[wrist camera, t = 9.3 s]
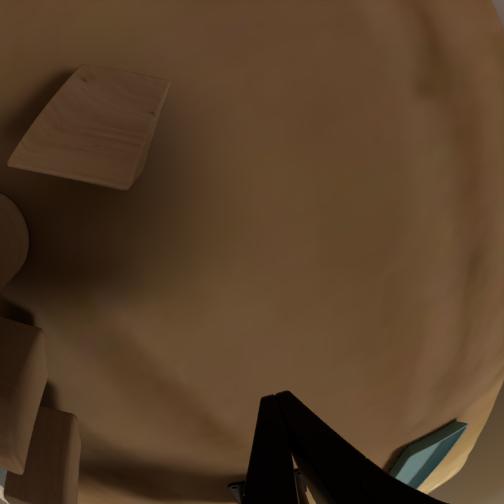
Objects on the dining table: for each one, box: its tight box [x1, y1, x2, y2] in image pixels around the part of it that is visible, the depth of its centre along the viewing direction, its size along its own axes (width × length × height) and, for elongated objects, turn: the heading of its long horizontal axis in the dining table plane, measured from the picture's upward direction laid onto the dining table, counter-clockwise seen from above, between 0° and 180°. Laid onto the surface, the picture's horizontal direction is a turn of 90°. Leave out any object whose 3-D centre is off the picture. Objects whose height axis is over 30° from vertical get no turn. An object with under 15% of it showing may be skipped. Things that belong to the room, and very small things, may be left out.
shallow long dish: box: [388, 421, 469, 489], centre depth 27 cm, size 26×9×2 cm, turn 3°
